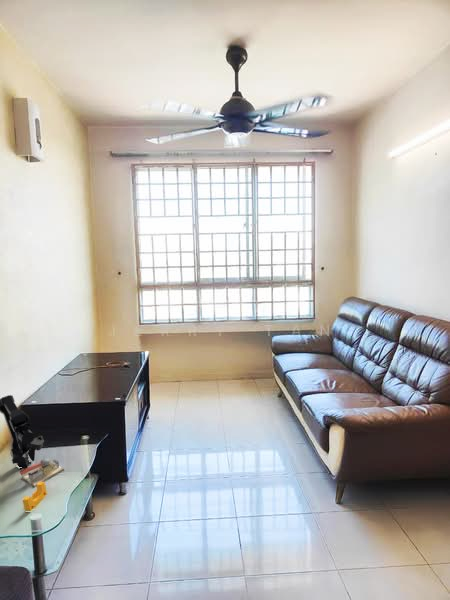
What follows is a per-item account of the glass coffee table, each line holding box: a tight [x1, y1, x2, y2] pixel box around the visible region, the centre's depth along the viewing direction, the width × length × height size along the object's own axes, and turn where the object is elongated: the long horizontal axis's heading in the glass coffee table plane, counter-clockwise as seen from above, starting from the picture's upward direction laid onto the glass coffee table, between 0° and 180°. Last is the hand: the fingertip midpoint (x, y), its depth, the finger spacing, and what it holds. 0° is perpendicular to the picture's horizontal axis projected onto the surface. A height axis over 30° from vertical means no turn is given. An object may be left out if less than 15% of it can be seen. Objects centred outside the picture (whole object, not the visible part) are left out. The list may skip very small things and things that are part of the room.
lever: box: [19, 457, 50, 476], centre depth 191 cm, size 14×4×2 cm, turn 128°
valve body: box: [27, 458, 60, 482], centre depth 194 cm, size 6×14×4 cm, turn 139°
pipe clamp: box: [21, 482, 48, 512], centre depth 172 cm, size 12×4×6 cm, turn 172°
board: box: [21, 459, 65, 488], centre depth 196 cm, size 16×15×1 cm
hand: (30, 465), depth 195 cm, fingers open, 7 cm apart
